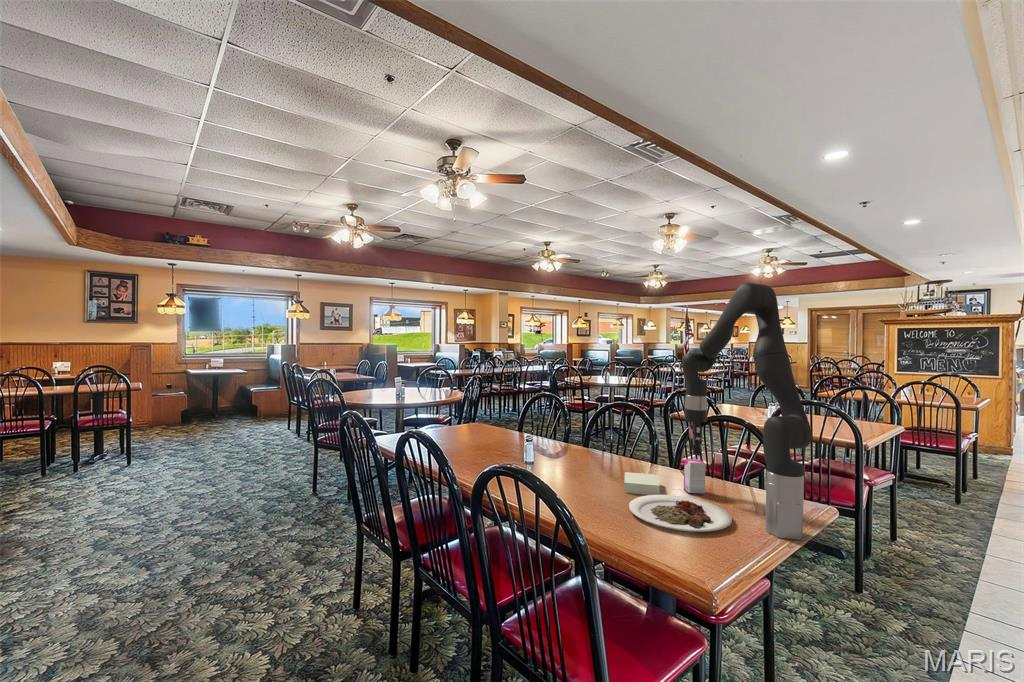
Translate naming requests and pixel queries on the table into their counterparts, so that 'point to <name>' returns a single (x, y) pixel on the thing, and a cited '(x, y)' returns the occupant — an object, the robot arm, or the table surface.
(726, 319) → the robot arm
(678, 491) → the table surface
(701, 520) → the plated food
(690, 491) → the supplement box
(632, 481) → the sage block
